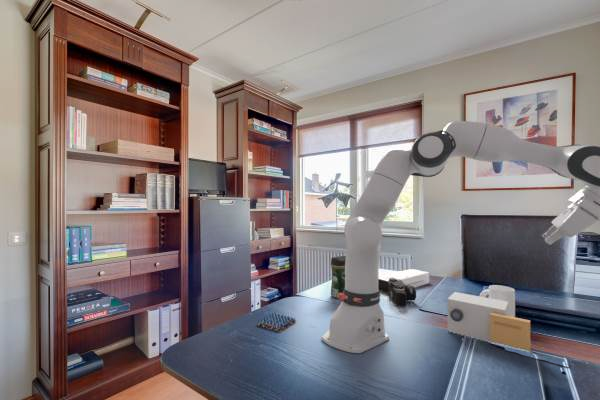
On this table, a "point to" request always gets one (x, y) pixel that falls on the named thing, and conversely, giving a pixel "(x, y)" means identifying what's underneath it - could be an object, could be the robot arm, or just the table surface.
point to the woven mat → (277, 322)
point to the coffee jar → (338, 275)
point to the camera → (400, 292)
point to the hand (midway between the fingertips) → (545, 240)
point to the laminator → (405, 278)
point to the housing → (472, 314)
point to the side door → (510, 331)
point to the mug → (502, 296)
